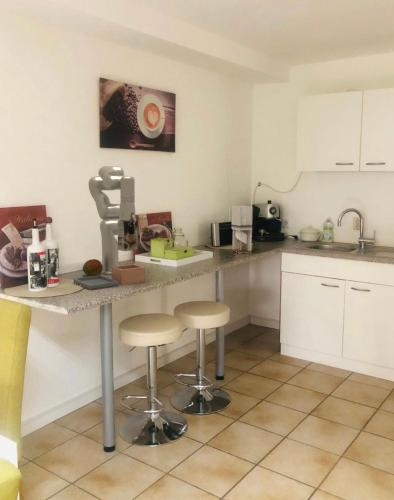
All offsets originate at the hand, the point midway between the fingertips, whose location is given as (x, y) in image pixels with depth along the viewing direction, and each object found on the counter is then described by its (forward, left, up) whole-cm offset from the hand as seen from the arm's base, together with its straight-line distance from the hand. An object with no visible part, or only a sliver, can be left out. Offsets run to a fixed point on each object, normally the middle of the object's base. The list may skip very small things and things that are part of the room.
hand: (127, 232), depth 266 cm
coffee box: (0, 0, -10) cm, 10 cm away
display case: (-38, +119, -27) cm, 128 cm away
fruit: (-24, -10, -27) cm, 37 cm away
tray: (-3, -18, -27) cm, 32 cm away
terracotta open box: (0, 0, -27) cm, 27 cm away
